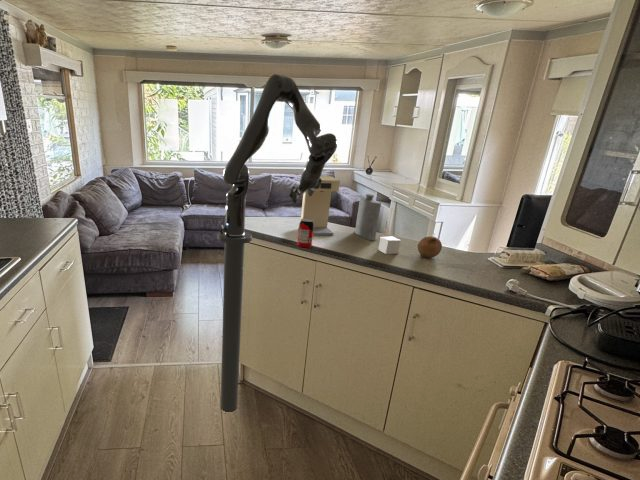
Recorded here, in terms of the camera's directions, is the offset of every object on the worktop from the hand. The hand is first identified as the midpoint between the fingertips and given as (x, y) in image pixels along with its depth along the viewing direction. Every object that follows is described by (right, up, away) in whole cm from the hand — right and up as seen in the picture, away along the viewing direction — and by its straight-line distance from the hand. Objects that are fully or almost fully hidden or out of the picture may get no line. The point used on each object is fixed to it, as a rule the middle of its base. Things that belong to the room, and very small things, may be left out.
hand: (301, 198), depth 188 cm
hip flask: (+34, -13, +21) cm, 42 cm away
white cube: (+38, -24, -1) cm, 44 cm away
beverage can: (+1, -21, +1) cm, 21 cm away
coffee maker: (+11, -10, +26) cm, 30 cm away
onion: (+53, -26, -5) cm, 59 cm away
